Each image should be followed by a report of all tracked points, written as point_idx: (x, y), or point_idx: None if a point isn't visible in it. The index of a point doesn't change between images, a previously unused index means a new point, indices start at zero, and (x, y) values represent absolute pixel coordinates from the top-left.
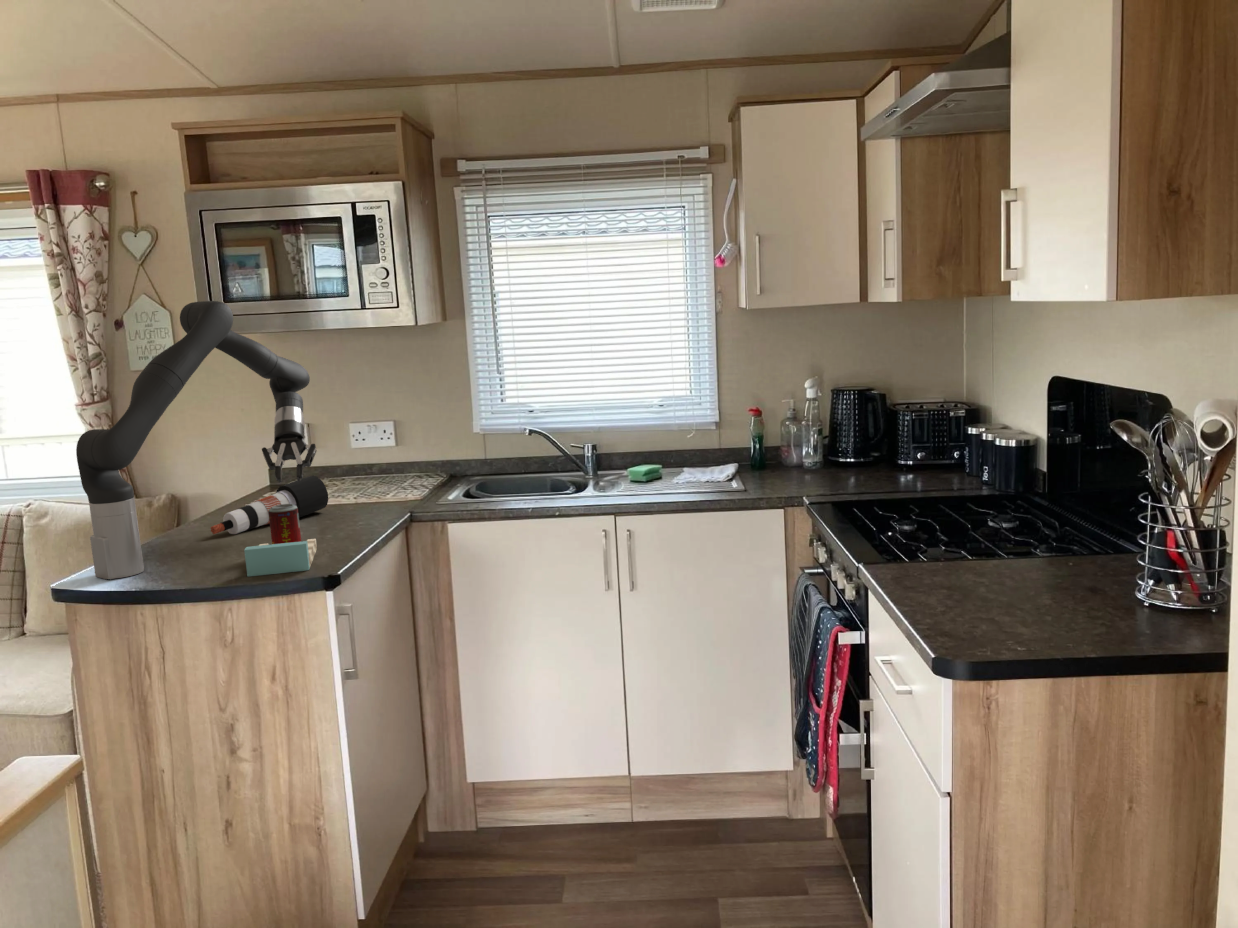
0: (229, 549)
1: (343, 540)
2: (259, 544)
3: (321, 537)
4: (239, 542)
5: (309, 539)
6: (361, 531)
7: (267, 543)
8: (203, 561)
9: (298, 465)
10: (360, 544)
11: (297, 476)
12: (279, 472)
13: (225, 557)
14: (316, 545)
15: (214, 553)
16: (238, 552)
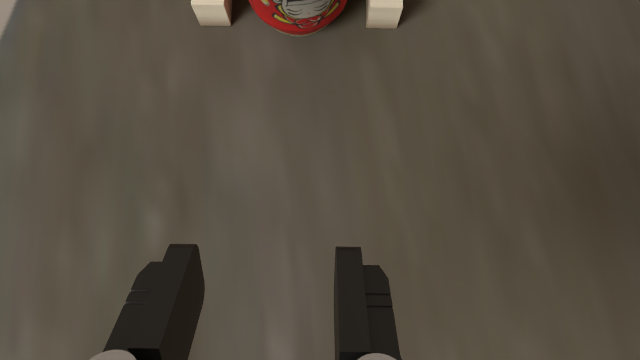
0: (535, 166)
1: (102, 117)
2: (402, 3)
3: (186, 216)
4: (523, 284)
5: (215, 2)
6: (20, 255)
7: (373, 6)
8: (585, 13)
9: (140, 339)
10: (46, 22)
11: (189, 245)
12: (348, 285)
13: (518, 39)
14: (197, 16)
15: (579, 122)
16: (487, 97)
